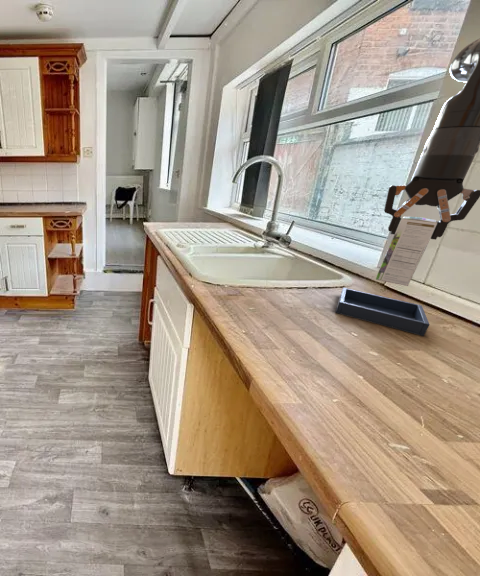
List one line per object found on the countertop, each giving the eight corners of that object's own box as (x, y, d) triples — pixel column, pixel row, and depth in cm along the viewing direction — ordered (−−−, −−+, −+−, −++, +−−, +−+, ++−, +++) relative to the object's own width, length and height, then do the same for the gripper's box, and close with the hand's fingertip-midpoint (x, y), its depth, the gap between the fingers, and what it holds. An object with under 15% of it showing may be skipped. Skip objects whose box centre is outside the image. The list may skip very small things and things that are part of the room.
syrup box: (377, 274, 76) (401, 215, 70) (410, 281, 72) (438, 219, 66) (375, 279, 72) (400, 217, 66) (409, 287, 68) (439, 221, 63)
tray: (416, 315, 76) (421, 305, 75) (423, 336, 66) (429, 324, 65) (339, 297, 85) (343, 287, 84) (335, 312, 75) (339, 301, 74)
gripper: (496, 155, 60) (455, 239, 66) (398, 154, 68) (370, 229, 75) (509, 153, 55) (463, 245, 61) (401, 152, 63) (370, 233, 69)
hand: (412, 236), depth 68 cm, fingers closed on syrup box, 6 cm apart
